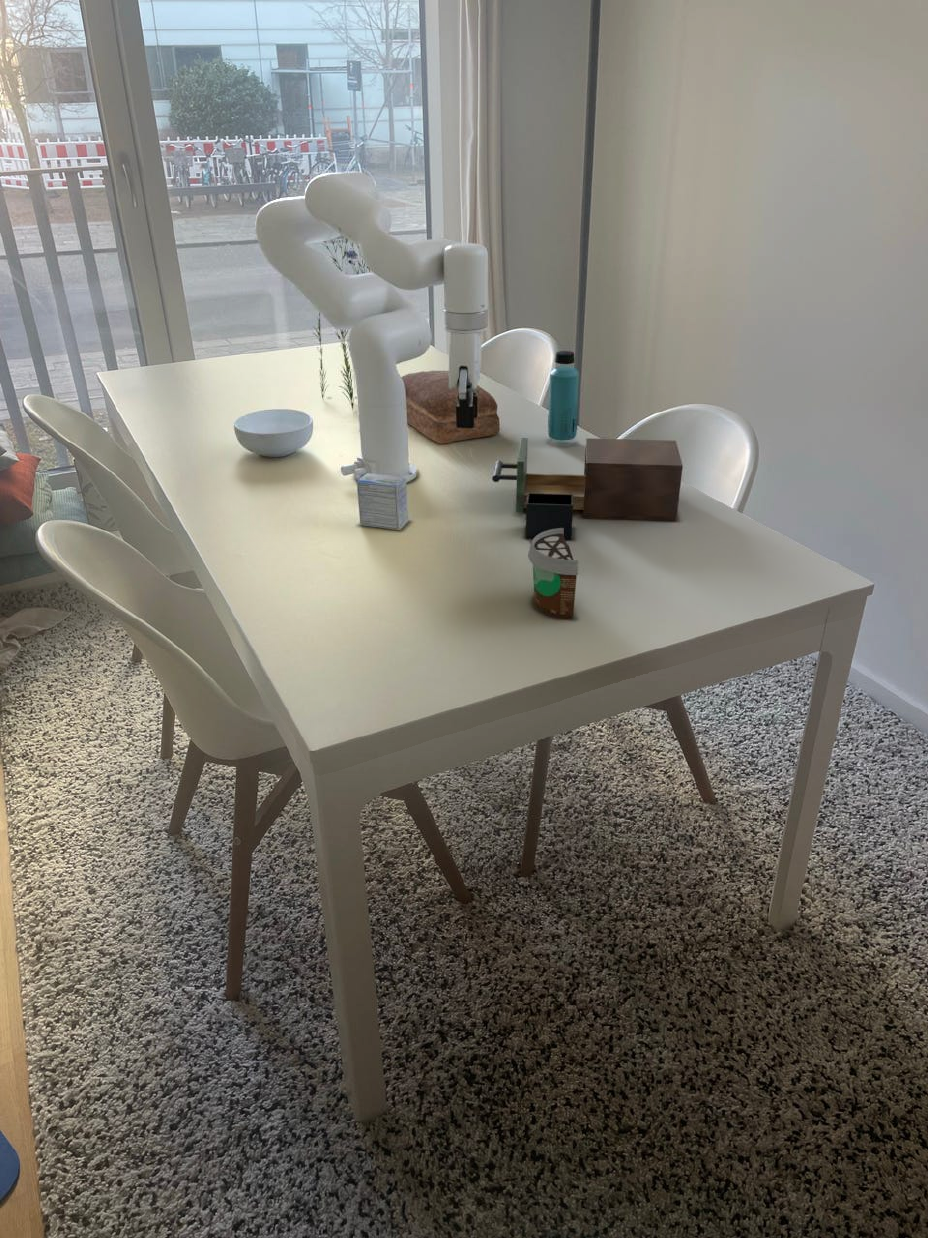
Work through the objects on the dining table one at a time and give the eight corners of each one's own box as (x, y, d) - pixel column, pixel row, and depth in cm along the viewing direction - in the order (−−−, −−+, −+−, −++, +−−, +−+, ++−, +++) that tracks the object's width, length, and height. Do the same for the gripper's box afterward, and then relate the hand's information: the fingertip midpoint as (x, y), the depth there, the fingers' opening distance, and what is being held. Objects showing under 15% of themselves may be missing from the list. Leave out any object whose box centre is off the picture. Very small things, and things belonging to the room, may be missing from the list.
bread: (449, 403, 230) (448, 357, 224) (503, 436, 207) (504, 386, 201) (387, 412, 223) (384, 365, 218) (435, 447, 200) (434, 396, 195)
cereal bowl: (222, 459, 195) (217, 427, 192) (264, 435, 209) (261, 405, 205) (290, 468, 190) (286, 435, 186) (329, 444, 203) (326, 413, 199)
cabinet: (583, 518, 166) (586, 462, 160) (583, 490, 177) (586, 438, 172) (676, 521, 164) (682, 465, 159) (670, 493, 176) (675, 440, 170)
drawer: (490, 511, 167) (490, 460, 162) (496, 485, 179) (496, 437, 174) (608, 515, 165) (612, 464, 160) (606, 488, 176) (610, 440, 171)
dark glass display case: (525, 538, 158) (526, 503, 155) (526, 526, 162) (527, 492, 159) (571, 540, 157) (573, 505, 154) (571, 528, 162) (573, 494, 158)
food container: (521, 586, 142) (522, 528, 137) (560, 584, 143) (562, 526, 138) (533, 625, 132) (535, 563, 127) (574, 623, 132) (578, 561, 127)
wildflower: (311, 393, 239) (293, 206, 217) (397, 389, 241) (388, 204, 219) (307, 418, 220) (287, 217, 197) (401, 414, 222) (392, 214, 199)
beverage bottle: (575, 447, 199) (579, 356, 189) (545, 446, 200) (548, 354, 190) (577, 438, 205) (582, 348, 195) (548, 436, 206) (551, 347, 196)
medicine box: (409, 521, 165) (407, 476, 160) (399, 531, 161) (397, 485, 157) (369, 516, 167) (366, 472, 163) (359, 525, 163) (356, 480, 159)
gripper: (451, 310, 165) (452, 408, 174) (438, 330, 150) (440, 436, 159) (492, 310, 164) (491, 409, 173) (483, 331, 149) (483, 437, 158)
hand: (467, 421), depth 166 cm, fingers open, 5 cm apart
